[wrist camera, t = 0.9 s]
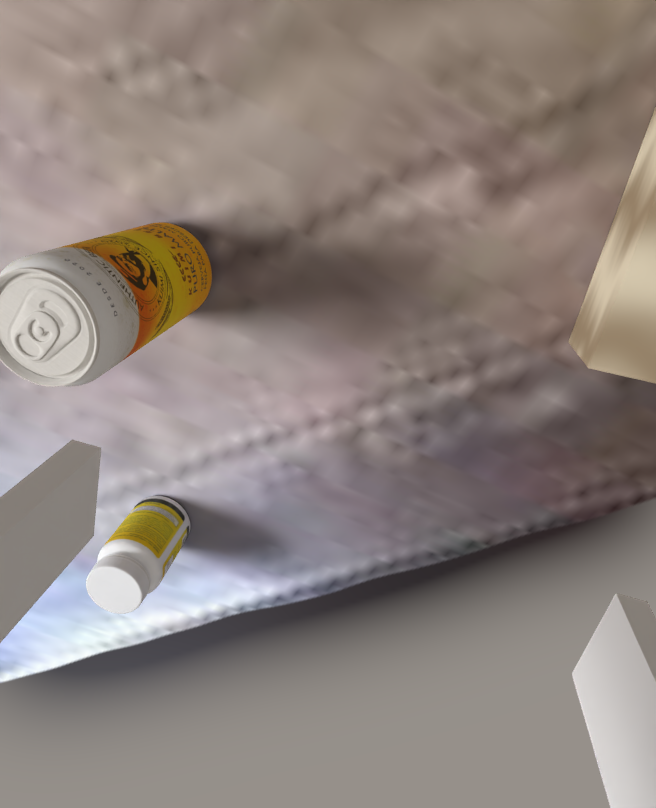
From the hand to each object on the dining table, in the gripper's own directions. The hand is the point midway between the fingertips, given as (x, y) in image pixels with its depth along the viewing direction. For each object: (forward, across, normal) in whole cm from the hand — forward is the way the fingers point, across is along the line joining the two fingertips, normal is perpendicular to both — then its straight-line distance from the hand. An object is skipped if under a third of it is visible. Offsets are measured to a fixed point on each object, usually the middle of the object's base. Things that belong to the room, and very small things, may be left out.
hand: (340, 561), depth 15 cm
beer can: (+26, -15, -1) cm, 30 cm away
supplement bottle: (+26, -13, -21) cm, 36 cm away
